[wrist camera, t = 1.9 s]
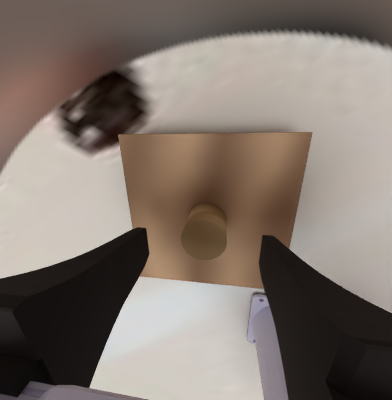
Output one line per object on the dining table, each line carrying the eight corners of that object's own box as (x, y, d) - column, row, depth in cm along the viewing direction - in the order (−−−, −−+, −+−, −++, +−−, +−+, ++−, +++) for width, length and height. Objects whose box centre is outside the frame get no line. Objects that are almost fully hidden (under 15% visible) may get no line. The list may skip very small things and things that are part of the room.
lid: (306, 132, 12) (340, 133, 9) (278, 283, 17) (292, 324, 13) (123, 134, 14) (89, 136, 10) (143, 270, 19) (124, 303, 15)
